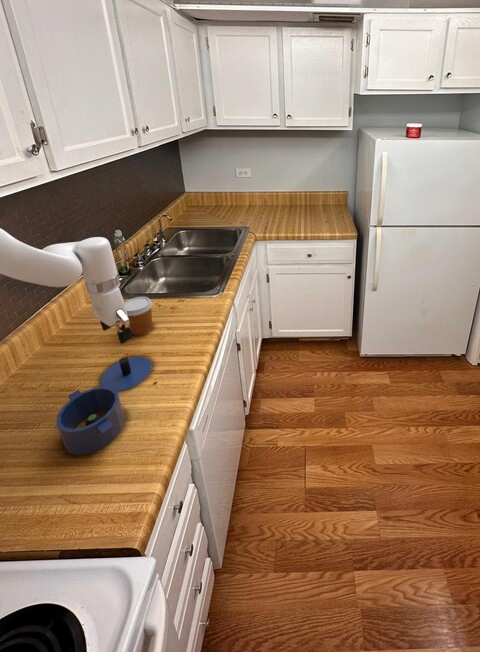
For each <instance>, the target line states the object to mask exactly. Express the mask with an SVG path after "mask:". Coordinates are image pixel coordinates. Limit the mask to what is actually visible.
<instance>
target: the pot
mask: <svg viewBox="0 0 480 652" xmlns="http://www.w3.org/2000/svg"><path fill="white" fill-rule="evenodd" d="M119 395H120V394H119V391H118V392H117V391H116V390H114V389H113V388H110V387H102V386H98V387H97V386H96V387H92V388H90V389H87V390H85V391H82V392H81V391H80V390H79V389H76V390H75V391H73V392H71V393H70V394H68V395H67V397H68V399H69V401H67V402H66V403H65V404H64V405H63V406H62V408H61V409H60V411H59V412H58V414H57V416H56V423H55V424H56V427H57V430H58V432H59V435H60V438H61V440H62V443H63V445H64V448H65V450H67V451H68V453H69V454H72V455H76V456H81V455H89V454H92V453H95V452H96V451H99V450H101V449H103V448H104V447H106V446H107V445H108V444H110V443H112V441H114V440H115V439H116V438H117V436H118V435H119V434H120V433H121V431H122V429H123V427H124V424H125V422H126V420H125V413H124V409H123V406H122V402H121V399H120V396H119ZM106 411H107V413H105V414H104V416H102V417H101V419H99V420H98V421H96V422H95V423H93V424H90V425H88V426H86V425H85V426H83V427H78V425H80V424H81V423H82V422H83V421H85V420H86V419H88V417H89V416H90V415H92V414H97V413H100V412H106ZM77 427H78V428H77Z"/></svg>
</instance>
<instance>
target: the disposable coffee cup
mask: <svg viewBox="0 0 480 652" xmlns="http://www.w3.org/2000/svg"><path fill="white" fill-rule="evenodd" d="M124 304H125V307H126V311H127V318H128V319H129V320H130V330H131V333H132V335H134V336H144V335H146V334H148V333H150V332H151V331H152V329H153V314H152V313H153V312H152V307H153V301H152V300H151V299H150V298H149V297H147V296H136V297H133V298H130V299H128V300H127V301H124Z"/></svg>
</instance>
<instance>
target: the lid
mask: <svg viewBox="0 0 480 652" xmlns="http://www.w3.org/2000/svg"><path fill="white" fill-rule="evenodd" d="M152 368H153V365H152V362H151V360H150V359H149V358H147V357H143V356H132V357H131V356H130V357H127V356H123V357H121V358H120V359H119V360H118V362H116V363H113V365H111V366H110V367H108V369H106V370H105V372H104V373H103V374H102V377H101V378H100V386H101V387H110V388H113V389H114V390H116V391H117V392H118V393H119V392H123V391H127V390H129V389H132V388H134V387H136V386H138V385H139V384H141V383H142V382H143V381H144V380H146V379H147V378H148V377H149V375H150V374H151V372H152Z"/></svg>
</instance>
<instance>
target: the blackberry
mask: <svg viewBox="0 0 480 652" xmlns="http://www.w3.org/2000/svg"><path fill="white" fill-rule="evenodd" d="M101 418H102V417H101V416H100V415H98V414H97V413H95V414H92V415H90V416H89V417H87V420H86V422H85V427H86V426H88V425H90V424H93V423H95V422H96V421H98V420H99V419H101Z"/></svg>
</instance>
